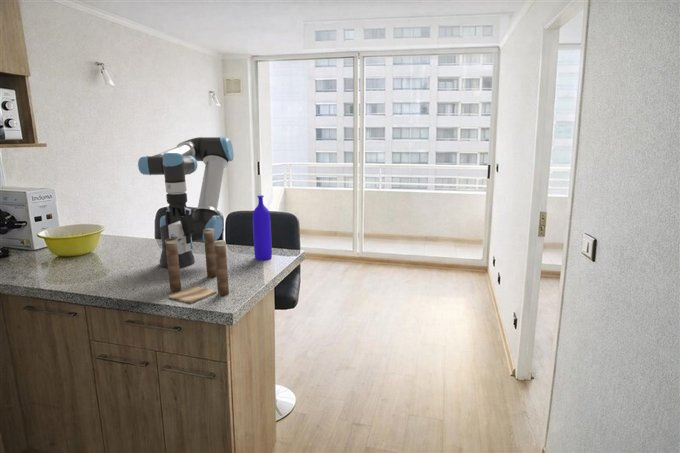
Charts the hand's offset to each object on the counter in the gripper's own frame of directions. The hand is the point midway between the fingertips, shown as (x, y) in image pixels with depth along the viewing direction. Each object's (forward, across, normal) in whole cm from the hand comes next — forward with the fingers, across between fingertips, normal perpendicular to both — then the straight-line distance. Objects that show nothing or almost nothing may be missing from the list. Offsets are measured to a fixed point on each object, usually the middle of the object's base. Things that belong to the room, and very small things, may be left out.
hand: (181, 249), depth 177 cm
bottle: (+14, +8, +40) cm, 43 cm away
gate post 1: (+13, +6, -10) cm, 17 cm away
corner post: (+13, +25, -5) cm, 29 cm away
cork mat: (+13, +16, -11) cm, 23 cm away
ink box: (+1, 0, 0) cm, 1 cm away
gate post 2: (+13, +6, +9) cm, 17 cm away
